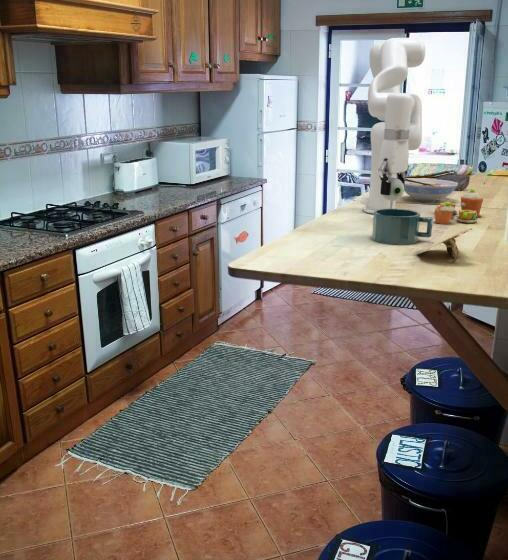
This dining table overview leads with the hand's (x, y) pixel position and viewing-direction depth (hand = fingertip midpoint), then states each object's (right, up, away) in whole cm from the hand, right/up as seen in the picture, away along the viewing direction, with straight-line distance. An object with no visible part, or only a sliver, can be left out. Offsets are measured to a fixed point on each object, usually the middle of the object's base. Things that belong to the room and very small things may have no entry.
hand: (392, 193), depth 199 cm
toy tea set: (+26, -6, +20) cm, 34 cm away
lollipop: (0, -10, +3) cm, 10 cm away
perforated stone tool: (+46, +13, +88) cm, 100 cm away
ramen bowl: (+26, +5, +57) cm, 63 cm away
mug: (0, -16, -13) cm, 20 cm away
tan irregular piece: (+6, -21, -32) cm, 39 cm away
